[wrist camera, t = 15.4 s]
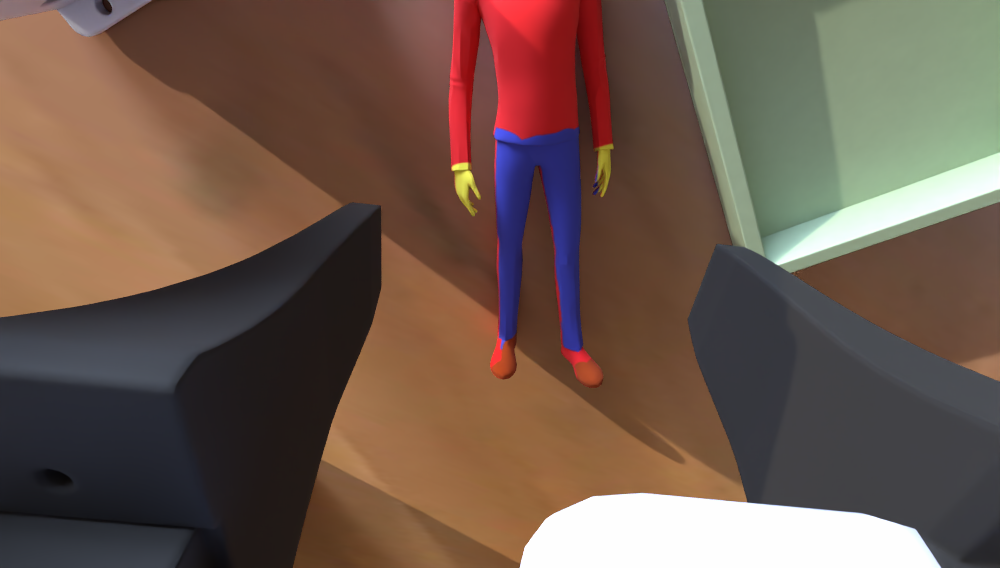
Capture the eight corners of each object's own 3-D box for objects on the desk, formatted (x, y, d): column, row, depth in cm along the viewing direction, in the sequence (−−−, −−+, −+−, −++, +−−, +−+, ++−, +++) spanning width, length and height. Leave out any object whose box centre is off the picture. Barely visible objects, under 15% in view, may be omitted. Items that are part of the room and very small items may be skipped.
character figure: (488, 415, 22) (437, -309, 11) (461, 347, 25) (402, -251, 14) (618, 382, 23) (694, -296, 12) (576, 321, 27) (604, -246, 15)
